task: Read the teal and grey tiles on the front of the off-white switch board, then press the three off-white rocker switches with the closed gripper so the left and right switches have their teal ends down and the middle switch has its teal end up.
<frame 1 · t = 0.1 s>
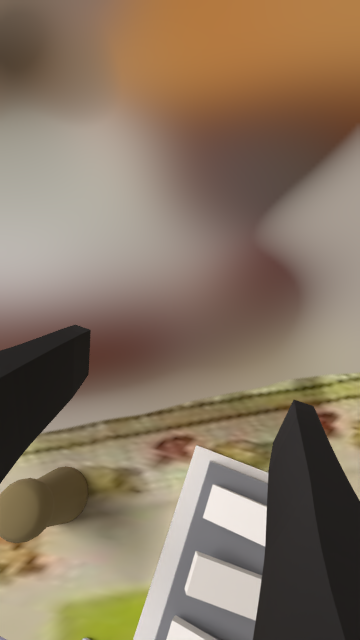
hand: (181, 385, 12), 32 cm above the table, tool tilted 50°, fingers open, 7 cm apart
middle switch: (230, 584, 32), point 5 cm above the table, hinge at 11.0°
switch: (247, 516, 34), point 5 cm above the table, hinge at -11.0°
switch board: (244, 574, 36), on the table
cork: (63, 494, 40), on the table
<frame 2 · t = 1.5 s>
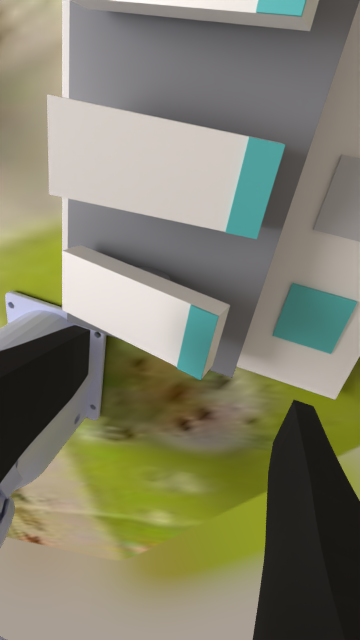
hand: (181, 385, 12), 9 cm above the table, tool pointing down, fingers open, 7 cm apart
middle switch: (163, 167, 13), point 5 cm above the table, hinge at 11.0°
switch board: (234, 169, 17), on the table
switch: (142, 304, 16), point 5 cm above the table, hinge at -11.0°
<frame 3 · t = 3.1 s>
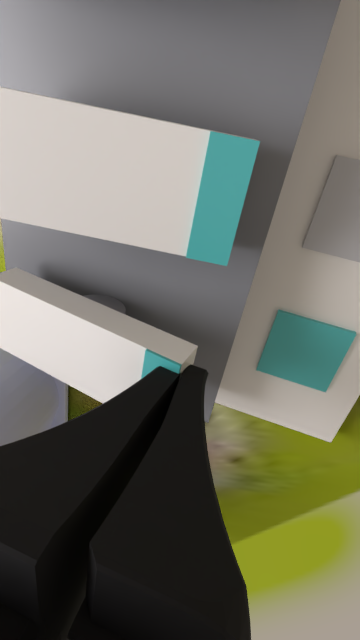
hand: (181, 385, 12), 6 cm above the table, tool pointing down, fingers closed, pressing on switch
middle switch: (104, 173, 10), point 5 cm above the table, hinge at 11.0°
switch board: (206, 173, 14), on the table
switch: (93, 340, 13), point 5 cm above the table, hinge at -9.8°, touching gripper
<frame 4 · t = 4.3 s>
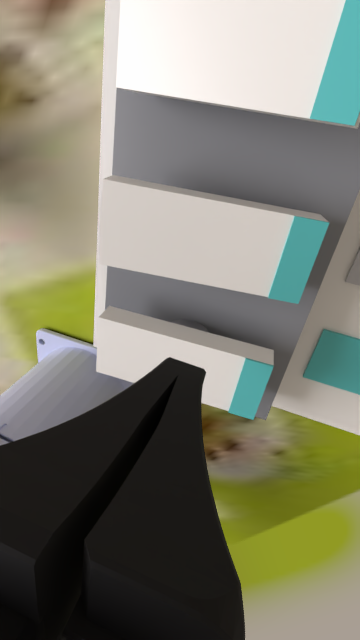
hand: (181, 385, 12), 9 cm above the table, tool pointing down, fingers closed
middle switch: (207, 236, 14), point 5 cm above the table, hinge at 11.0°
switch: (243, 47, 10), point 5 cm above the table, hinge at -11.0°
switch board: (266, 222, 17), on the table
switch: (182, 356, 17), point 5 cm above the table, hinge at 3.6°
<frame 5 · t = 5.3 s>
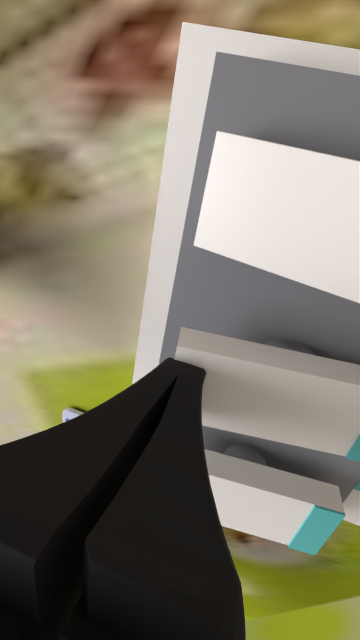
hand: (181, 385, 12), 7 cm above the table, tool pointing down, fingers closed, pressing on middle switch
middle switch: (279, 388, 12), point 5 cm above the table, hinge at 11.0°, touching gripper
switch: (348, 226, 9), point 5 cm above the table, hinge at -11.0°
switch board: (325, 338, 16), on the table
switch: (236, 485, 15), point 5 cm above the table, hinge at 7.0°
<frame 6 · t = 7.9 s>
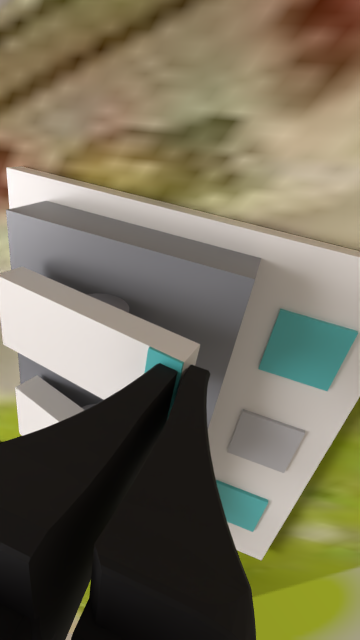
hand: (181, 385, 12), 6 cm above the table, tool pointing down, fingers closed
middle switch: (90, 442, 16), point 5 cm above the table, hinge at -16.8°
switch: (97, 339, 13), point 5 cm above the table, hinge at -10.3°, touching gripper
switch board: (164, 391, 20), on the table
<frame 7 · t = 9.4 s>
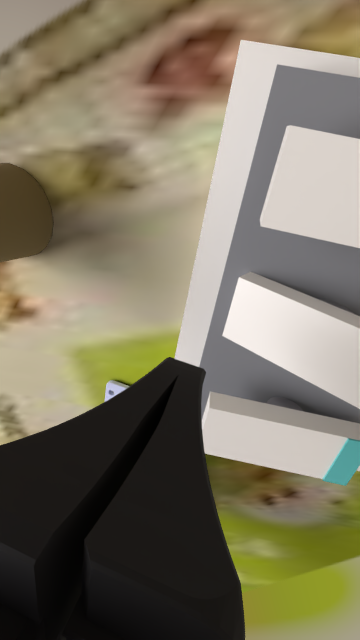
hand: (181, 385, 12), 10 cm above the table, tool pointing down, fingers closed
middle switch: (318, 338, 15), point 5 cm above the table, hinge at -20.0°, touching switch board
switch board: (350, 306, 19), on the table
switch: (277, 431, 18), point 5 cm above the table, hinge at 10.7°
cork: (16, 211, 23), on the table
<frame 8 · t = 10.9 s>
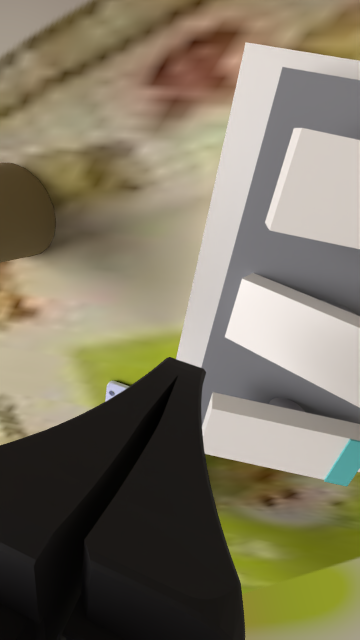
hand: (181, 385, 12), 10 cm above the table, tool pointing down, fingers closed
middle switch: (321, 339, 15), point 5 cm above the table, hinge at -19.0°, touching switch board
switch board: (352, 308, 19), on the table
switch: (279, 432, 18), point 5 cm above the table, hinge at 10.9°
cork: (18, 211, 23), on the table
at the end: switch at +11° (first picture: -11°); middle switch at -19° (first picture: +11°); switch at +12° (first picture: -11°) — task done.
